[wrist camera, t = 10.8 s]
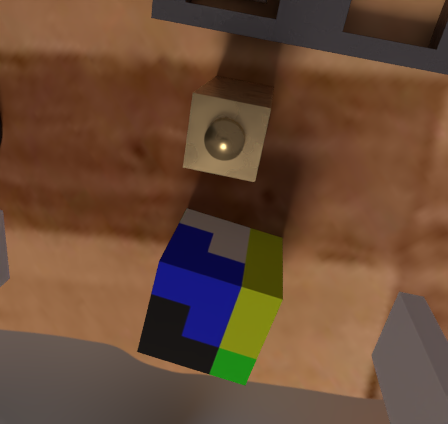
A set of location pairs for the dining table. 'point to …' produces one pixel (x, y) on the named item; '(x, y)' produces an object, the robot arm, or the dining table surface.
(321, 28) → the grey flat plate
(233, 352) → the puzzle toy
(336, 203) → the dining table surface
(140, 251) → the dining table surface
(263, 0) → the silver block with knob
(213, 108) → the tan block with knob
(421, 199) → the dining table surface
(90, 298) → the dining table surface
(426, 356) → the robot arm
